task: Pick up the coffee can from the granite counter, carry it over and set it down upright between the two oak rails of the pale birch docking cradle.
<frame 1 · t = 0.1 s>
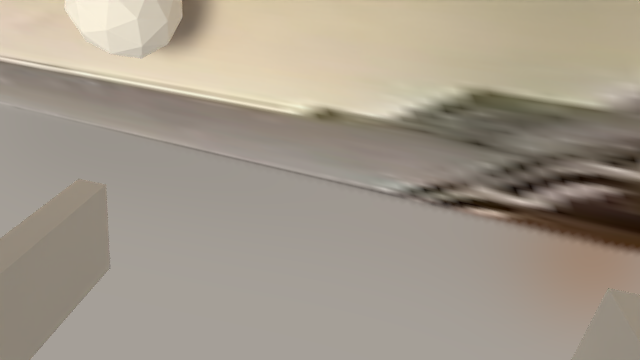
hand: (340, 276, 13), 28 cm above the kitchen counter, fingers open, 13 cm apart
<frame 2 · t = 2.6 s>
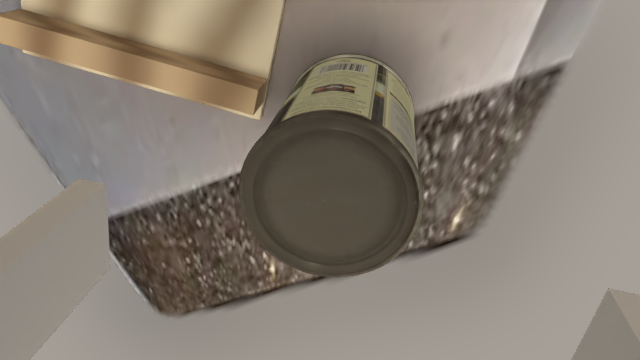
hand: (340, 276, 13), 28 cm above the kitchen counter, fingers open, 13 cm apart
coffee can: (350, 117, 41), on the kitchen counter
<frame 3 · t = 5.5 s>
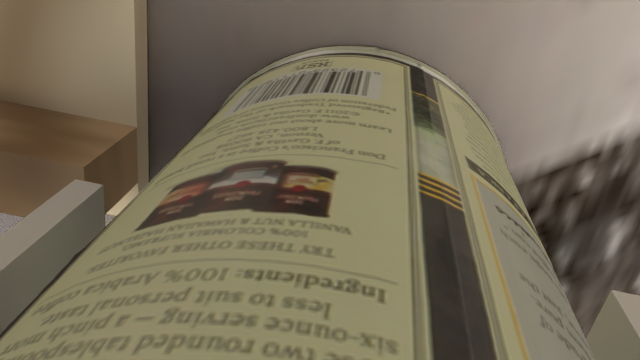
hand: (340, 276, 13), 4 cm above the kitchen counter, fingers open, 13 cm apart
coffee can: (350, 196, 17), on the kitchen counter
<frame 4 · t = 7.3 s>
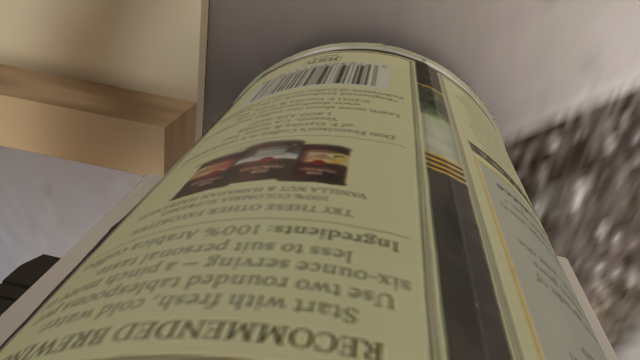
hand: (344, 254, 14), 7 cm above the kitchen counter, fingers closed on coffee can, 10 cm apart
coffee can: (358, 187, 18), point 3 cm above the kitchen counter, touching gripper
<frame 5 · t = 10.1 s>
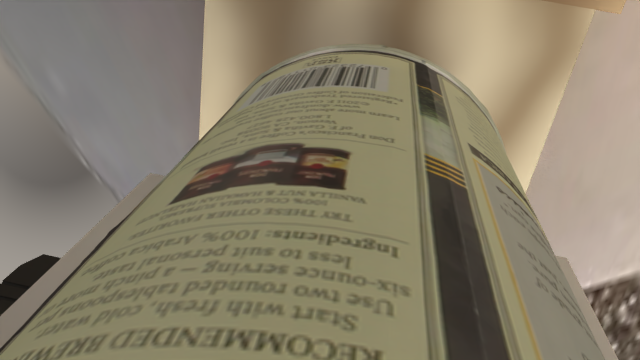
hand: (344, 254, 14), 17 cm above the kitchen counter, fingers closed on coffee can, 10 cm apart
cradle: (373, 89, 29), on the kitchen counter
coffee can: (357, 189, 18), point 13 cm above the kitchen counter, touching gripper
when the fingers open (5 cm above the kitchen counter, at t = 13.1 s): coffee can stays where it is, resting on cradle.
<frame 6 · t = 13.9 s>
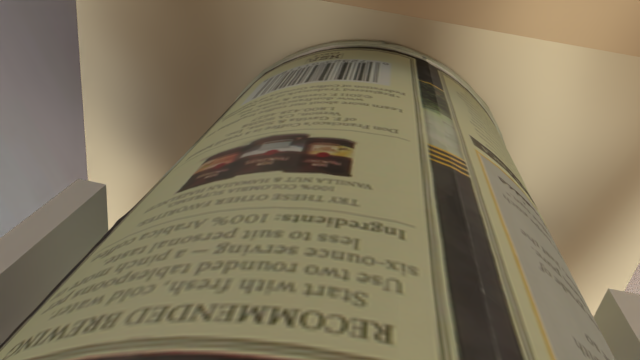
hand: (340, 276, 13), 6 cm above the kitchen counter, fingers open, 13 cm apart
cradle: (357, 181, 18), on the kitchen counter
coffee can: (358, 185, 18), point 1 cm above the kitchen counter, touching cradle
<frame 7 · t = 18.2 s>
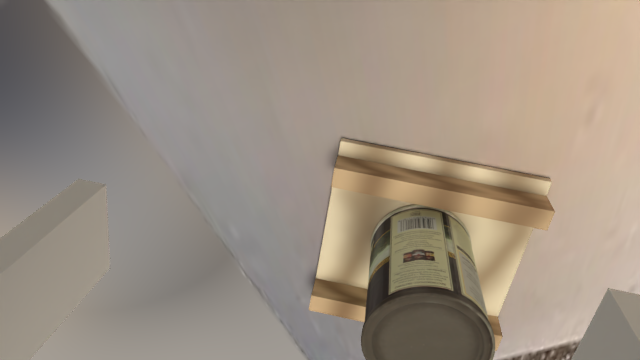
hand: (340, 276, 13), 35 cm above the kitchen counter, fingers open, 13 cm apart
cradle: (419, 244, 53), on the kitchen counter
coffee can: (420, 246, 52), point 1 cm above the kitchen counter, touching cradle
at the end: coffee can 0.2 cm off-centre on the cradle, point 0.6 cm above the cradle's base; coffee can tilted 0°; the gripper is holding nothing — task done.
